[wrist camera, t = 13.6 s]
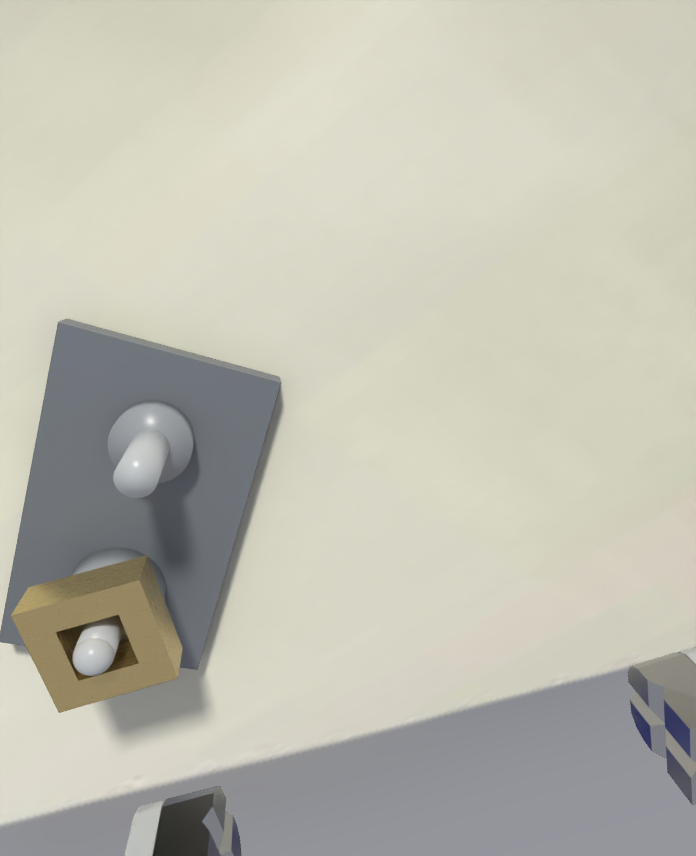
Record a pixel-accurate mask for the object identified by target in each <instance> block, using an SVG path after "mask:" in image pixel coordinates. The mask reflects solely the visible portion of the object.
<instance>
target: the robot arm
mask: <svg viewBox="0 0 696 856" xmlns="http://www.w3.org/2000/svg"><path fill="white" fill-rule="evenodd" d="M628 682H629V683H630V685H631V686H632V687H633V688H634V690H635V692H634V694H633V695H632V697H631V699H630V705H631V713H632V716H633V719H634V722H635V724H636V727H637V729H638V731H639V732H640V734H641V736H642V738H643V740H644V741H645V742H646V744H647V745H648V747H649V748H650V749H651V751H653V752H654V753H656V754H658V755H660V756H662V757H664V758H666V759H667V770H668V773H669V775H670V776H671V777H672V779H673V780H674V781H675V783H676V784H677V785H678V787H679V788H680V789H681V791H682V792H683V793H684V795H685V796H686V797H687V799H688V800H689V801H690V803H691V804H692V805H695V804H696V647H693V648H690V649H686V650H683V651H680V652H678V653H672V654H669V655H665V656H662V657H659V658H655V659H652V660H649V661H645V662H642V663H639V664H636V665H632V666H630V668H629V670H628ZM225 807H226V797H225V795H224V793H223V791H222V789H221V786H215V787H212V788H208V789H204V790H200V791H196V792H192V793H188V794H185V795H180V796H177V797H173V798H169V799H166V800H163V801H159V802H155V803H152V804H148V805H144V806H140V807H139V808H138V810H137V812H136V813H135V815H134V817H133V822H132V826H131V830H130V834H129V838H128V843H127V847H126V851H125V855H124V856H241V844H240V836H239V832H238V828H237V824H236V822H235V819H234V817H233V815H231V814H229V813H228V812H226V811H225Z"/></svg>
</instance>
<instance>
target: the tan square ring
mask: <svg viewBox="0 0 696 856" xmlns="http://www.w3.org/2000/svg"><path fill="white" fill-rule="evenodd" d="M115 615H119V617H120V619H121V622H122V624H123V626H124V629H125V631H126V634H127V636H128V638H129V639H125V640H122V641H120V642H119V645H118V648H117V651H116V654H115V657H114V660H113V662H112V664H111V666H110V667H109V668H108V669H107V670H106V671H104V672H103V673H101V674H99V675H95V676H87V675H83V674H81V673H80V672H78V671H77V669H76V668H75V666H74V664H73V652H74V649H75V647H76V644H77V642H78V639H79V637H80V635H81V632H82V630H81V628H80V625H83V624H87V623H90V622H94V621H97V620H101V619H105V618H108V617H112V616H115ZM11 617H12V619H13V621H14V623H15V625H16V627H17V629H18V631H19V633H20V635H21V637H22V639H23V641H24V643H25V645H26V647H27V649H28V651H29V653H30V655H31V657H32V659H33V661H34V663H35V665H36V667H37V669H38V671H39V673H40V675H41V677H42V679H43V681H44V683H45V685H46V688H47V690H48V692H49V694H50V696H51V698H52V700H53V702H54V704H55V706H56V708H57V710H58V712H59V713H60V712H64V711H67V710H70V709H74V708H77V707H81V706H84V705H88V704H91V703H94V702H98V701H101V700H105V699H108V698H111V697H115V696H118V695H122V694H125V693H129V692H132V691H135V690H139V689H142V688H146V687H149V686H153V685H156V684H159V683H163V682H166V681H170V680H173V679H176V678H178V675H179V668H180V661H181V655H182V648H183V647H182V645H181V642H180V640H179V637H178V634H177V632H176V629H175V626H174V624H173V621H172V619H171V616H170V613H169V611H168V608H167V605H166V603H165V600H164V598H163V595H162V592H161V590H160V587H159V584H158V582H157V579H156V577H155V574H154V571H153V569H152V566H151V563H150V561H149V558H148V556H147V555H145V556H142V557H138V558H134V559H131V560H127V561H123V562H120V563H116V564H112V565H109V566H105V567H101V568H98V569H94V570H90V571H86V572H83V573H79V574H75V575H72V576H68V577H64V578H61V579H57V580H53V581H50V582H46V583H42V584H39V585H35V586H31V587H28V589H27V591H26V592H25V594H24V595H23V597H22V598H21V600H20V602H19V603H18V605H17V606H16V608H15V610H14V611H13V613H12V614H11Z"/></svg>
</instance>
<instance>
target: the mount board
mask: <svg viewBox="0 0 696 856" xmlns="http://www.w3.org/2000/svg"><path fill="white" fill-rule="evenodd" d="M280 384H281V381H280V377H278V376H274V375H270V374H267V373H263V372H259V371H256V370H252V369H248V368H245V367H241V366H238V365H234V364H230V363H227V362H223V361H219V360H216V359H212V358H208V357H205V356H201V355H197V354H194V353H190V352H186V351H183V350H179V349H175V348H172V347H168V346H164V345H161V344H157V343H153V342H150V341H146V340H142V339H139V338H135V337H131V336H128V335H124V334H120V333H117V332H113V331H109V330H106V329H102V328H98V327H95V326H91V325H88V324H84V323H80V322H77V321H73V320H69V319H65V320H62V321H60V322H58V325H57V331H56V336H55V341H54V347H53V352H52V357H51V363H50V368H49V373H48V379H47V384H46V390H45V395H44V400H43V406H42V411H41V416H40V422H39V427H38V433H37V438H36V443H35V449H34V454H33V459H32V465H31V470H30V475H29V481H28V486H27V492H26V497H25V502H24V508H23V513H22V518H21V524H20V529H19V534H18V540H17V545H16V551H15V556H14V561H13V567H12V572H11V577H10V583H9V588H8V594H7V599H6V604H5V610H4V615H3V620H2V626H1V631H0V642H2V643H10V644H17V645H24V646H26V645H25V643H24V641H23V639H22V637H21V635H20V633H19V631H18V629H17V627H16V625H15V623H14V621H13V619H12V617H11V614H12V613H13V611H14V610H15V608H16V606H17V605H18V603H19V602H20V600H21V598H22V597H23V595H24V594H25V592H26V591H27V589H28V587H31V586H35V585H39V584H42V583H46V582H50V581H53V580H57V579H61V578H64V577H68V576H72V575H75V574H79V573H83V572H86V571H90V570H94V569H98V568H101V567H105V566H109V565H112V564H116V563H120V562H123V561H127V560H131V559H134V558H138V557H142V556H145V555H147V556H148V558H149V561H150V563H151V566H152V569H153V571H154V574H155V577H156V579H157V582H158V584H159V587H160V590H161V592H162V595H163V598H164V600H165V603H166V605H167V608H168V611H169V613H170V616H171V619H172V621H173V624H174V626H175V629H176V632H177V634H178V637H179V640H180V642H181V645H182V647H183V648H182V655H181V661H180V667H182V668H190V669H198V666H199V663H200V659H201V656H202V652H203V649H204V645H205V642H206V639H207V635H208V632H209V628H210V625H211V621H212V618H213V615H214V611H215V608H216V604H217V601H218V597H219V594H220V590H221V587H222V584H223V580H224V577H225V573H226V570H227V566H228V563H229V560H230V556H231V553H232V549H233V546H234V542H235V539H236V536H237V532H238V529H239V525H240V522H241V518H242V515H243V511H244V508H245V505H246V501H247V498H248V494H249V491H250V487H251V484H252V481H253V477H254V474H255V470H256V467H257V463H258V460H259V457H260V453H261V450H262V446H263V443H264V439H265V436H266V432H267V429H268V426H269V422H270V419H271V415H272V412H273V408H274V405H275V402H276V398H277V395H278V391H279V388H280ZM80 628H81V630H82V632H81V635H80V637H79V639H78V642H77V644H76V647H75V649H74V652H73V664H74V666H75V668H76V669H77V671H78V672H80V673H81V674H83V675H87V676H95V675H99V674H101V673H103V672H104V671H106V670H107V669H108V668H109V667H110V666H111V664H112V662H113V660H114V657H115V654H116V651H117V648H118V645H119V642H120V641H122V640H125V639H129V638H128V636H127V634H126V631H125V629H124V626H123V624H122V622H121V619H120V617H119V615H115V616H112V617H108V618H105V619H101V620H97V621H94V622H90V623H87V624H83V625H80Z"/></svg>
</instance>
